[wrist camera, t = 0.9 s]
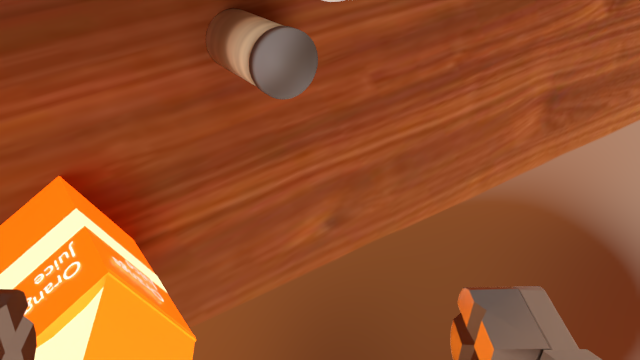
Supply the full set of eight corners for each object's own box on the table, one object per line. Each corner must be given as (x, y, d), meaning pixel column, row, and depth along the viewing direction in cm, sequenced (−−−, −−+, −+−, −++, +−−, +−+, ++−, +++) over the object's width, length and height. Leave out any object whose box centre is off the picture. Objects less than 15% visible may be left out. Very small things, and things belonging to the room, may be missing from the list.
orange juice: (59, 173, 44) (138, 324, 29) (135, 239, 50) (233, 393, 35) (-24, 245, 43) (12, 441, 28) (63, 303, 48) (132, 493, 33)
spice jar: (193, 50, 46) (242, 78, 39) (225, -6, 46) (280, 14, 39) (241, 79, 49) (294, 110, 42) (271, 28, 49) (329, 51, 42)
